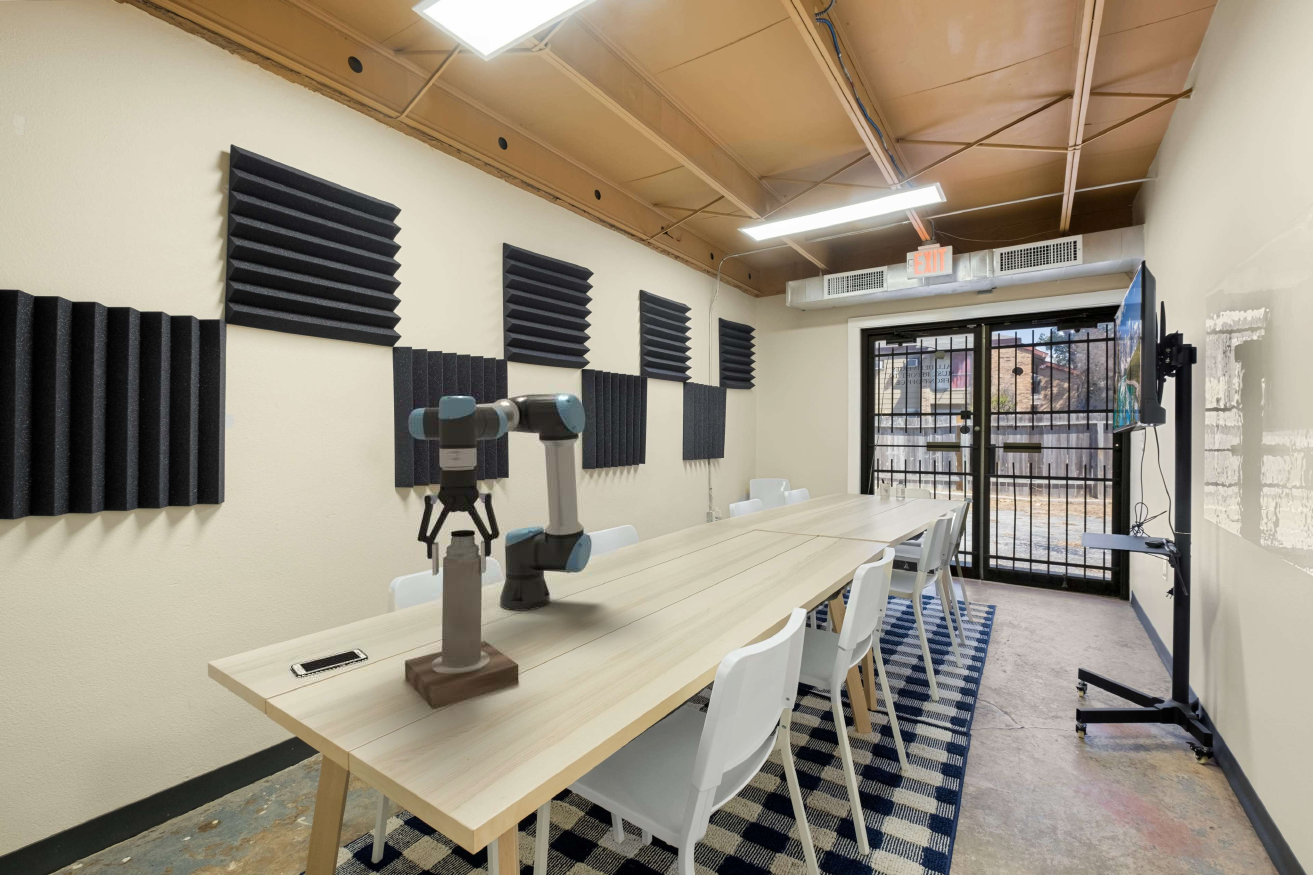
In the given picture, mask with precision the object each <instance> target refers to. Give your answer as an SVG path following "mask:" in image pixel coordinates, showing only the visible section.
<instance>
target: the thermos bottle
mask: <svg viewBox="0 0 1313 875" xmlns="http://www.w3.org/2000/svg"><path fill="white" fill-rule="evenodd" d="M475 535H476V531H475V530H471V529H470V530H469V529H459V530H453V531H451V532H450V536H451V539H450V544H449V545H448V546H447V547H446V551H445V553H446V556H444V557H443V559H442V608H441V609H442V614H441V615H442V619H441V620H442V622H441V623H442V624H441V625H442V626H441V627H442V628H441V651H442V664H443V665H444V666H447V667H453V668H458V667H466V666H470V665H473V664H476V663H477V662H479V661H480V659H481V641H482V593H483V592H482V590H483V588H482V587H483V582H482V581H483V578H482V577H483V573H481V554H480V552H479V551H481V548H480V546H479V545H478V544H477V543H475V542H476V541H475V540H476V539H475V538H476V537H475Z"/></svg>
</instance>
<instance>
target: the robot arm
mask: <svg viewBox="0 0 1313 875" xmlns="http://www.w3.org/2000/svg"><path fill="white" fill-rule="evenodd" d="M476 402H477V401H476V399H475V397H473V396H469V395H467V396H466V395H464V396H463V395H447V396H442V397H440V400H439V403H438V407H424V408H423V407H422V408H415V409H413V410H412V411H411V412H410V414H409V416H408V420H407V423H408V430H409V434H410V435H411V436H412V437H413V438H415V439H417V440H425V441H429V440H431V441H432V440H435V441H436V440H439V467H440V468H442V469H441V470H440V471H439V492H438V493H437V494H435V493H434V494H430V493H429V494H427V495H425V496H424V497H423V500H424V510H423V514H422V518H421V523H420V526H419V530H418V531H419V532H418V534H417V541H418V542H421V543H425V544H426V557H427V559H428V560H431V561H432V562H431V563H432V564H431V566H432V567H431V568H432V576H437V575H438V574H439V572H440V558H439V557H440V556H439V555H440V554H439V549H440V548H439V541H436V539H437V537H438V535H439V533H440V530H441V529H442V528H443V525H444V523H445V522H446V519H447V518H448V516H449V515H450V513H457V512H460V513H466V512H467V514H468V515H469V516H470V518H471V519H472V522H473V523H474V525H475V527H476V528H477V530H478V532H479V533H480V536H481V538H482V539H483V540H481V542H480V555H481V573H482V574H485V573H486V571H487V557H490V556H491V554H492V541H494V540H497V539H499V537H500V534H501V533H500V530H499V526H498V523H497V518H496V515H495V512H494V507H493V504H492V502H493V494H492V492H486V493H484V492H480V491H479V490H478V482H477V481H478V476H477V475H478V473H477V472H478V471H477V469H476V468H474V467H476V466H477V464H478V462H477V460H478V458H477V457H478V456H477V441H481V440H487V441H488V440H490V441H492V440H495V439H499V438H501V437H502V436H504V435H505V433H509V432H512V433H513V432H515V433H527V434H538V437H539V438H538V441H539V442H540V443H542V444H543V446H544V454H545V470H546V473H545V474H546V487H547V505H548V522H549V524H548V525H547V526H546V527H545V528H544V527H543V526H529V527H523V528H517V529H514V530H511V531H509V532H507V533H506V535H505V543H504V558H505V561H504V562H505V564H504V565H505V581H504V585H503V587H502V591H501V593H500V599H499V606H500V607H501V606H503V607H505V608H504V609H506V608H509V609H508V610H512V609H527V610H532V608H534V609H538V608H537V607H539V608H542V607H544V605H545V606H546V604H547V605H548V604H549V603H550V602H551V594H550V590H549V587H548V585H547V582H546V579H545V572H554V573H556V572H557V573H559V572H560V573H567V574H569V573H571V574H573V573H580V572H582V571H584V570H585V568H586V567H587V565H588V563H589V560H590V556H591V554H592V544H593V543H592V538H591V536H590V535H589V534H587V533H585V532H584V525H583V524H582V523H580V522H579V514H578V513H579V512H578V494H577V480H576V479H577V478H576V476H577V474H576V460H575V459H576V458H575V443H577V441H578V440H579V439H580V438H579V434H581V433H583V431H584V429H585V426H586V425H585V423H586V414H585V408H584V406H583V404H582V402H581V400H580V399H579V397H578V396H577V395H575V394H573V393H561V392H560V393H539V394H538V393H537V394H536V393H535V394H530V393H529V394H524V395H519V396H518V395H517V396H513V397H509V398H501V399H498V400H496V401H495V402H493V403H478V404H476ZM478 499H480V500H481V503H482V504H484V509H485V513H486V516H487V520H488V525H489V528H490V531H491V533H490V532H489V530H488V528H487V527H486V525H485V523H484V520H483V519H482V518H481V516H480V514H479V512H478V511H477V508H476V506H475V503H476V502H477V501H478ZM437 501H439V502H440V503H441V504H442V506H443V508H442V509H441V512H440V514H439V516H438V518H437V520H436V522H435V524H434V525H433V528H432V529H431V531H430V533H429V535H428V531H429V526H430V522H431V517H432V514H433V510H434V505H435V504H436V503H437ZM541 606H542V607H541ZM503 607H502V608H503Z"/></svg>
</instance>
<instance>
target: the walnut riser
mask: <svg viewBox="0 0 1313 875" xmlns="http://www.w3.org/2000/svg"><path fill="white" fill-rule="evenodd" d="M404 673H405V674H404V679H405V680H406V681H407V683H408V684H410V686H411V687H412V688H413V689H414V690H415V691H416V692H417V693H418V695H419V696H420V697H421V699H423V700H424V701H425V703H426V704H427V705H428V706H429V707H430V708H431V709H432V710H436V709H439V708H442V707H445V706H449V705H452V704H455V703H458V702H461V701H465V700H469V699H472V698H474V697H475V698H476V697H478V696H481V695H485V694H487V693H490V692H494V691H497V690H501V689H503V688H508V687H511V686H513V685H516V684H519V664H518V663H517V662H516V661H514V660H513V659H511V658H510V657H508V655H505V654H504V653H503V652H501V651H499V649H497V648H495V647H494V646H493V645H491V644H490V643H488V642H487V641H485V640H481V659H480V661H479V662H477V663H476V664H473V665H470V666H466V667H458V668H453V667H447V666H444V665H443V664H442V650H441V651H438V652H434V653H431V654H426V655H421V656H418V657H413V658H410V659H406V660H404Z"/></svg>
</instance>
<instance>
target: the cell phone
mask: <svg viewBox="0 0 1313 875" xmlns="http://www.w3.org/2000/svg"><path fill="white" fill-rule="evenodd" d="M365 659H367V660H369V656H368V654H366V653H365V652H364V651H362V650H361V649H360V648H352V649H350V650H345V651H342V652H341V651H340V652H337V653H334V654H330V655H327V656H326V655H324V656H322V657H317V658H314V659H310V660H306V661H302V662H298V663H295V664H291V666H290V669H291V668H292V670H293V671H294V672H293V673H295V674H296V675H295V674H294V675H295V676H296V677H297V676H302V675H308V674H312V673H316V672H320V671H324V672H326V671H325V670H328V671H330V670H329V669H331V670H334V669H333V668H335V669H338V668H337V667H339V668H341V667H340V666H342V667H344V666H343V665H346V666H349V665H348V664H350V663H353V662H358V661H361V662H363V661H362V660H365ZM365 661H366V660H365ZM358 663H359V662H358ZM350 665H351V664H350ZM292 670H291V671H292ZM320 673H321V672H320Z"/></svg>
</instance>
